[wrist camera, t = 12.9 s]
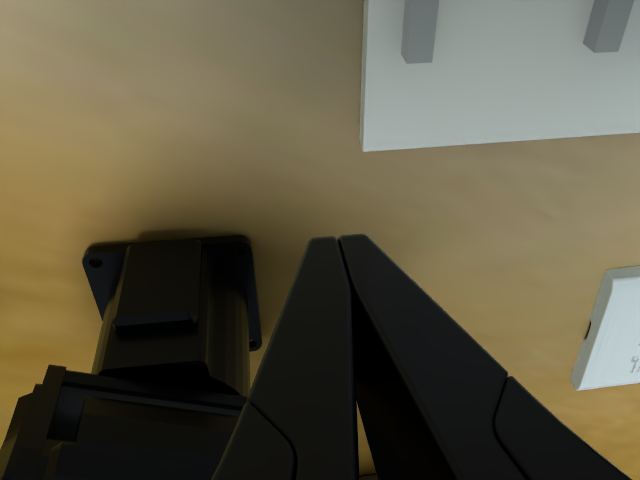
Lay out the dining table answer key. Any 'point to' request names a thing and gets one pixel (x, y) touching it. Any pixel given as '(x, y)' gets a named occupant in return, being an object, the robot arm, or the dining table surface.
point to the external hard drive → (612, 334)
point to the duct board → (497, 71)
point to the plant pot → (369, 477)
